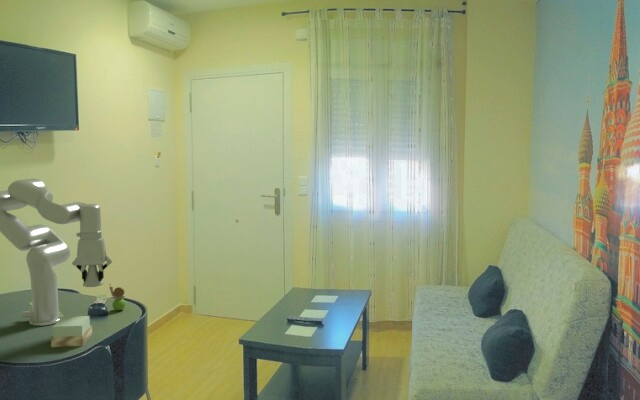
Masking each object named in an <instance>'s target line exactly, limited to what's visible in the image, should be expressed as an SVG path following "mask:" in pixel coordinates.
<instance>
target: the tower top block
mask: <svg viewBox="0 0 640 400" xmlns="http://www.w3.org/2000/svg"><path fill="white" fill-rule="evenodd" d="M90 322H91V321H90V315H81V316H80V315H79V316H78V315H77V316H63V317H61V318H60V319H59V320H58V322H57V323H54V325H53V326H52V336H53V337H73V336H83V334H84V333H85V332H86V330H87V329H88V328H89V326H90V325H91V323H90Z"/></svg>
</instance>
